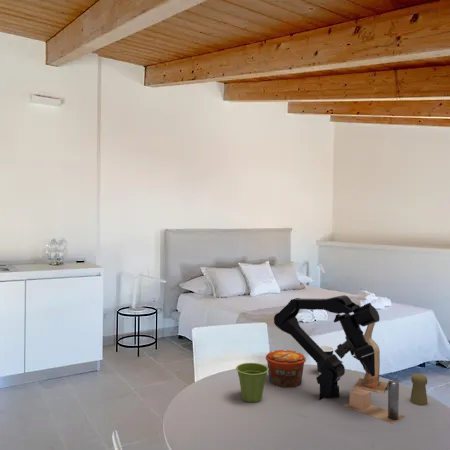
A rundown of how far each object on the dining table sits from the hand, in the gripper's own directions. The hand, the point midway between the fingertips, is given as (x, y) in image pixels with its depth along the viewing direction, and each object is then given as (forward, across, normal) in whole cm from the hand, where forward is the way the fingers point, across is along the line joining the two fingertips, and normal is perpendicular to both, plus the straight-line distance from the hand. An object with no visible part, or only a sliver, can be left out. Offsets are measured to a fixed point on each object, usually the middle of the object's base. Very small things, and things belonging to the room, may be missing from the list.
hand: (371, 374), depth 151 cm
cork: (+16, -11, +12) cm, 23 cm away
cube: (+8, -3, -8) cm, 12 cm away
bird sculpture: (+8, -22, 0) cm, 24 cm away
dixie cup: (-2, -36, -15) cm, 39 cm away
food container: (-5, -24, -30) cm, 39 cm away
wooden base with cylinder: (+12, 0, -5) cm, 13 cm away
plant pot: (-5, -5, -42) cm, 43 cm away
